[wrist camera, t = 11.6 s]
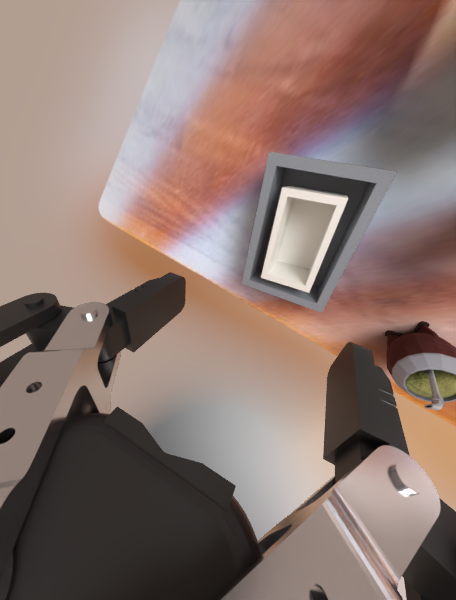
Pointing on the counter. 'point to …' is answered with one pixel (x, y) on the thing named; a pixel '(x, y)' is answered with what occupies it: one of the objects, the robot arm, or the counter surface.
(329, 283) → the slate crate
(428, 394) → the mate gourd
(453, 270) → the counter surface
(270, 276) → the white crate
